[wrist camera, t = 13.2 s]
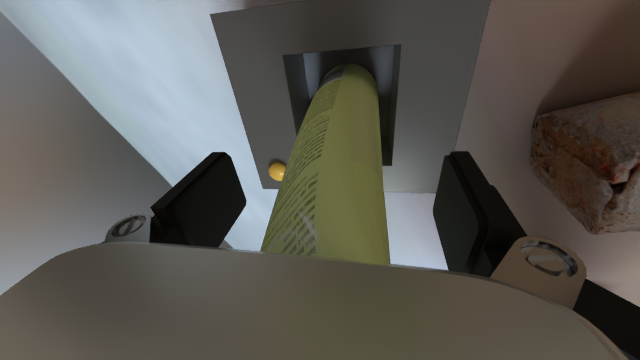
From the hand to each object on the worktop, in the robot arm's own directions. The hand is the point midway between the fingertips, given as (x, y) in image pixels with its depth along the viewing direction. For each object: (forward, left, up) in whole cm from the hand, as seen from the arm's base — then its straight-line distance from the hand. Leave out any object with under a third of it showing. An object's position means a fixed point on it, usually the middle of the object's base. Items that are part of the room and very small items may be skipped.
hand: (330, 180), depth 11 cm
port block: (0, 0, -12) cm, 12 cm away
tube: (0, 0, -12) cm, 12 cm away
